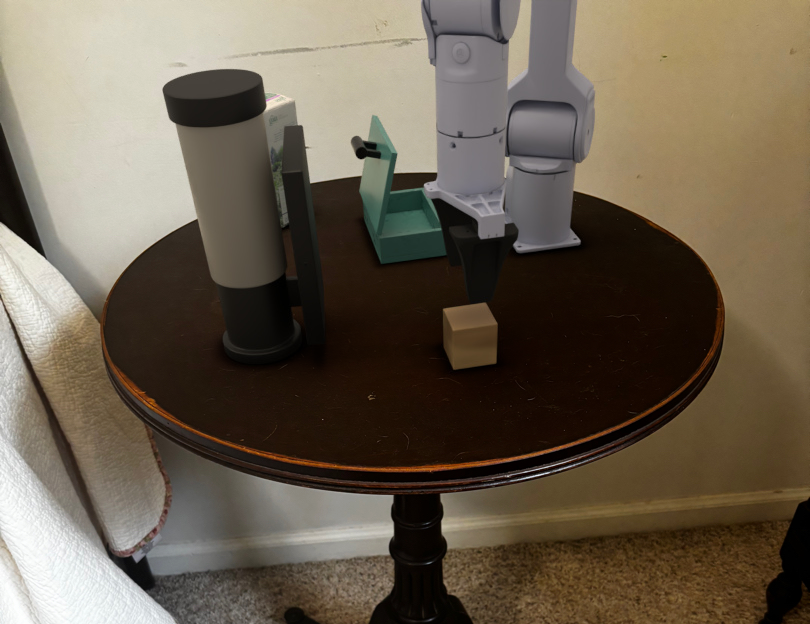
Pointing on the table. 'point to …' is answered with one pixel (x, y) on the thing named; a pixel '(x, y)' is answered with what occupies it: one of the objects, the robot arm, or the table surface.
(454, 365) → the block
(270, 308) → the light fixture
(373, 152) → the lid
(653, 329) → the table surface
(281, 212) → the syrup box
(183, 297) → the table surface
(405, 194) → the teal box base
